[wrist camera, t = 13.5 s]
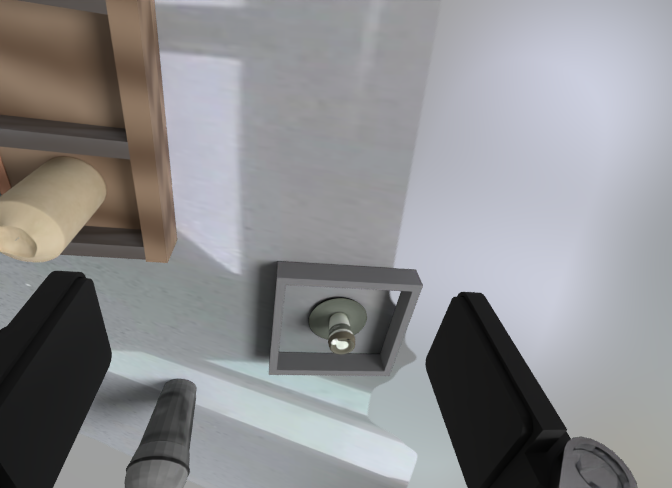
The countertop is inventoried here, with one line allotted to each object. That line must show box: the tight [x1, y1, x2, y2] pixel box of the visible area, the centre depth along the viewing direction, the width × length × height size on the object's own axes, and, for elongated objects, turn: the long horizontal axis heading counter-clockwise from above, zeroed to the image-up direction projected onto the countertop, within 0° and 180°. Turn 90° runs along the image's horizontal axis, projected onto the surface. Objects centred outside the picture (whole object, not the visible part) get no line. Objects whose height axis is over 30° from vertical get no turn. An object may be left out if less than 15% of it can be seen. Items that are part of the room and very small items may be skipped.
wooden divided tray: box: [0, 0, 177, 263], centre depth 32 cm, size 23×15×4 cm, turn 171°
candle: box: [0, 157, 107, 262], centre depth 31 cm, size 6×6×10 cm
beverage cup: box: [125, 379, 196, 488], centre depth 47 cm, size 7×7×20 cm
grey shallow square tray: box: [269, 261, 423, 376], centre depth 49 cm, size 17×17×3 cm
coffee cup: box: [309, 298, 367, 354], centre depth 48 cm, size 12×12×5 cm
